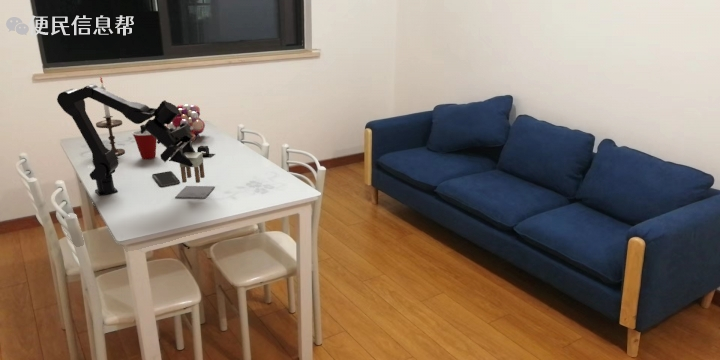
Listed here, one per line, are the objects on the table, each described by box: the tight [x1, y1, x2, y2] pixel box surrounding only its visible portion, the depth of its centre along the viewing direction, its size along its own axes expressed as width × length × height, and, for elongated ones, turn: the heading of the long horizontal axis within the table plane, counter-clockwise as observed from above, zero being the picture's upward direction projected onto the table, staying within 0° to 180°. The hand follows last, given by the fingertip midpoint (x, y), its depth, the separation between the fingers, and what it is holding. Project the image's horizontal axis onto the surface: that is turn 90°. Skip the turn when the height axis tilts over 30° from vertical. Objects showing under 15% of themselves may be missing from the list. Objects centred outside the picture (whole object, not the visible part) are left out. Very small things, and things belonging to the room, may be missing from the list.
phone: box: [151, 170, 181, 188], centre depth 222 cm, size 8×1×15 cm
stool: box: [179, 151, 206, 184], centre depth 205 cm, size 6×6×10 cm
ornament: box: [166, 103, 206, 142], centre depth 274 cm, size 18×19×20 cm
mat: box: [175, 185, 216, 200], centre depth 208 cm, size 11×11×1 cm
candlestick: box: [95, 76, 126, 157], centre depth 249 cm, size 11×11×35 cm
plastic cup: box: [131, 129, 157, 160], centre depth 247 cm, size 11×11×12 cm
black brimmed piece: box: [197, 145, 216, 159], centre depth 250 cm, size 12×7×5 cm, turn 77°
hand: (195, 162), depth 204 cm, fingers closed on stool, 6 cm apart
